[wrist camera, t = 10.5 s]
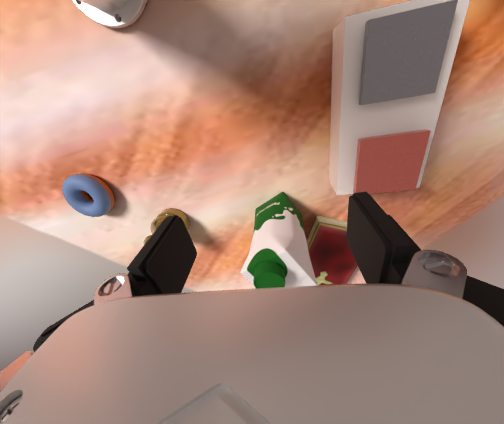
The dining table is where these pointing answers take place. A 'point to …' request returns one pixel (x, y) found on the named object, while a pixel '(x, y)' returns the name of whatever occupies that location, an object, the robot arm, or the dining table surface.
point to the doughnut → (95, 188)
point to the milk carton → (278, 247)
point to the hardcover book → (330, 252)
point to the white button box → (382, 113)
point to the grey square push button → (405, 53)
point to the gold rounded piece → (163, 215)
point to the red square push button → (390, 162)
